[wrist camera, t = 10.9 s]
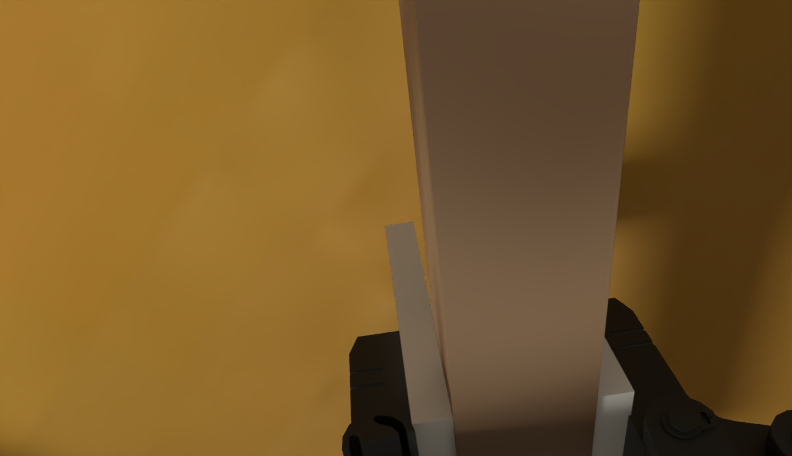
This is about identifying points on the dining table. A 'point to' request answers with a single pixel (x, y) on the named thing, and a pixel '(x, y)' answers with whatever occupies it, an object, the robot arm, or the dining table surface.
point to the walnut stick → (520, 207)
